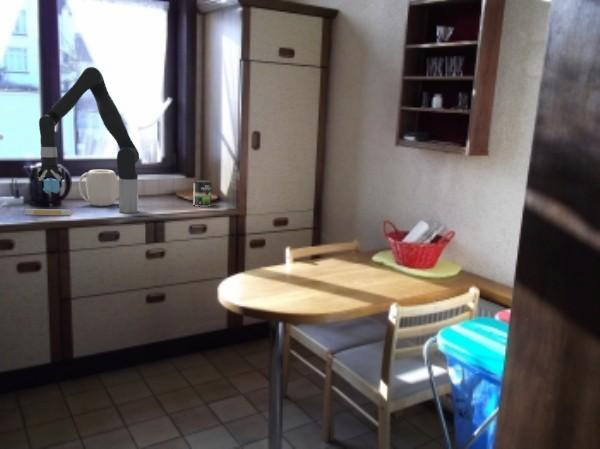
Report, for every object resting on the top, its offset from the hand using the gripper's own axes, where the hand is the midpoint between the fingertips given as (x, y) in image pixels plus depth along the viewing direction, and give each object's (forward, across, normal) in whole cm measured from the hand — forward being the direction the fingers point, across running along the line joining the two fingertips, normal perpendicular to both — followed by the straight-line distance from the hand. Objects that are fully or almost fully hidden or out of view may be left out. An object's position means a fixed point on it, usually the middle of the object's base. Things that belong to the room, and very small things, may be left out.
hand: (50, 188), depth 285 cm
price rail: (+10, -2, +19) cm, 22 cm away
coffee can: (+13, -76, -23) cm, 80 cm away
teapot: (+2, 0, 0) cm, 2 cm away
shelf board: (+11, -2, +14) cm, 18 cm away
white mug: (+12, -23, -19) cm, 32 cm away
